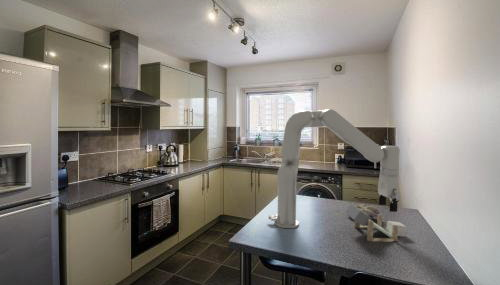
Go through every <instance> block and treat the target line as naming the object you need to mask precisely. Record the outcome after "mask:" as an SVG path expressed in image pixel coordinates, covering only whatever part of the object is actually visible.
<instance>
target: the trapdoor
mask: <svg viewBox="0 0 500 285" xmlns="http://www.w3.org/2000/svg"><path fill="white" fill-rule="evenodd" d="M348 206H349V207H348ZM348 206H347V207H348V208H347V207H346V210H345V213H346V214H347V215H348V216H349V217H350V218H351V219H352V220H353V221H354V222H355V221H356V222H358V223H359V224H360V226H367V224H368V221H372V219H370V217H369V216H368V215H366V214H365V213H364V212H363V211H361V210H360V209H359V208H357V207H356V206H354V204H353V203H350V204H349V205H348ZM373 226H374V227H375V228H377V229H376V230H378V231H380V232H381V233H383V234H385V235H386V236H388V238H392V235H391V234H389V233H388V232H387V231H386V229H385V228H384V227H382V226H381V227H380V226H379V225H377V222H376V223H375V222H374V221H373Z"/></svg>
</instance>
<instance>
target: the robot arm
mask: <svg viewBox="0 0 500 285" xmlns="http://www.w3.org/2000/svg"><path fill="white" fill-rule="evenodd" d="M320 127H323V128H325V127H326V128H327V129H328V130H330V131H331V132H332V133H333V134H335V136H337V137H338V138H339V139H340V140H342V141H343V142H344V143H346V144H348V145H349V146H351V147H352V148H353V149H354V150H356V151H357V152H359V153H360V154H361V155H363V157H364V158H365V159H366V160H368V161H370V162H372V163H379V162H380V163H379V164H380V165H379V166H380V168H379V169H380V170H379V177H378V182H377V184H378V185H377V193H378V205H379V206H385V205H387V198H389V201H390V202H389V212H390V213H391V212H393V213H394V212H398V204H399V202H400V199H401V195H400V193H399V178H398V177H399V169H400V168H399V167H400V147H399V146H396V145H379V144H377V143H376V142H375V141H373V140H372V139H371V138H370V137H368V136H367V135H366V134H365V133H363V132H362V131H361V130H360V129H358V128H357V127H356V126H355V125H353V123H351V122H350V121H348V120H347V118H345V117H344V116H343V115H341V114H340V113H339V112H338V111H336V110H334V109H332V108H327V109H323V110H315V111H313V110H311V111H310V110H305V109H302V110H300V111H296V113H294V114H292V115H291V116H290V117H289V118H288V120H287V122H286V124H285V128H284V134H283V138H282V139H283V140H282V146H281V151H280V154H281V163H280V164H281V165H280V166H279V168H278V170H277V175H276V176H277V213H276V214H274V215H268V220H270V221H271V222H273V221H274V225H275V226H276V227H279V228H282V229H294V228H297V227H299V225H300V223H299V220H297V178H298V177H297V176H298V172H299V165H300V158H301V157H300V156H301V147H300V145H301V139H302V138H301V137H302V132H303V130H304V128H320Z"/></svg>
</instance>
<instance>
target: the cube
mask: <svg viewBox="0 0 500 285" xmlns="http://www.w3.org/2000/svg"><path fill="white" fill-rule="evenodd" d="M393 225H396V226H398V232H397V237H405V233H406V229H407V226H406V225H405V224H403V223H402V222H399V221H393V220H387V222H386V227H385V230H386V231H387V232H388V233H389V234H391V235H392V233H393Z"/></svg>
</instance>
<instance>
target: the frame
mask: <svg viewBox="0 0 500 285" xmlns="http://www.w3.org/2000/svg"><path fill="white" fill-rule="evenodd" d="M382 218H383V215H382V214H378V217H376V220H377V221H376V224H377V225H379V226H380V227H382ZM373 222H374V220H371V221H368V222H367V225H365V226H362V225H361V224H359V223H358V222H356V221H355V220H354V229H366V231H367V232H366V240H367V242H385V243H386V242H387V243H388V242H393V241H399V240H398V236H397V232H398V226H396V225H393V233H392V238H391V237H387V238H386V237H374V230H378V229H377V228H375V227H374V226H373Z"/></svg>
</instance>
